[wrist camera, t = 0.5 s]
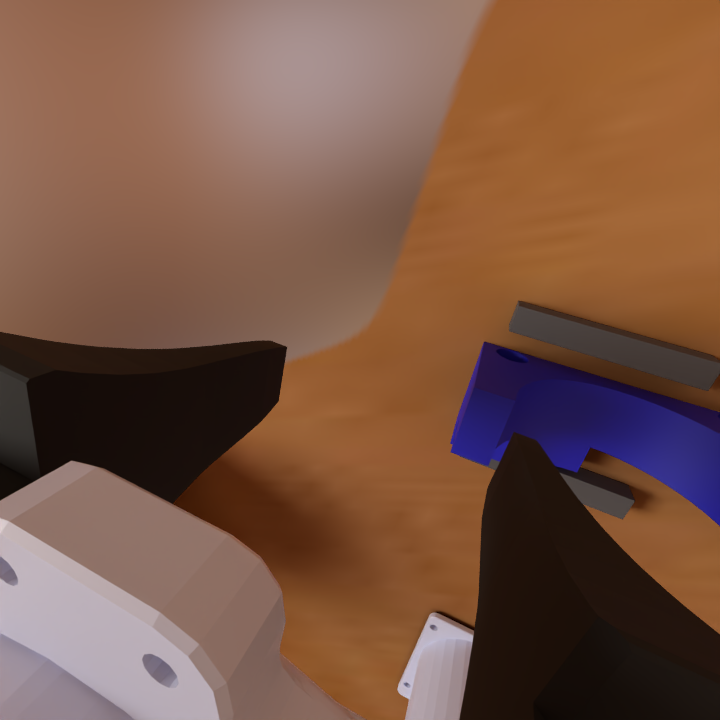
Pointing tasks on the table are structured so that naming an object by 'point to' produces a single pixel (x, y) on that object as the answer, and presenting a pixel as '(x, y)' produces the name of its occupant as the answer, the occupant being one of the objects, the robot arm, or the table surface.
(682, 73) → the table surface
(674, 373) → the guide channel
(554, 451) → the cable clip
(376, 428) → the table surface
